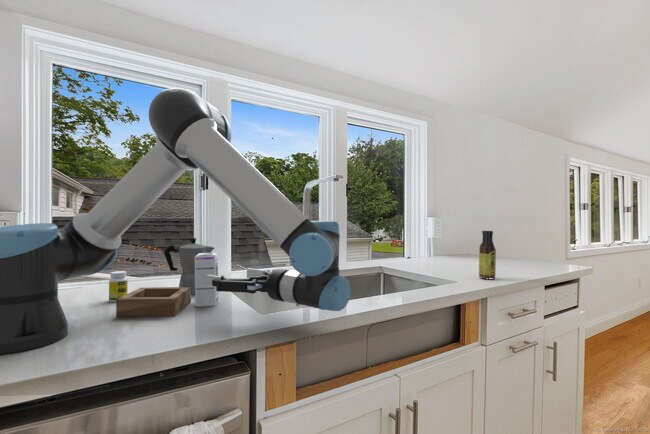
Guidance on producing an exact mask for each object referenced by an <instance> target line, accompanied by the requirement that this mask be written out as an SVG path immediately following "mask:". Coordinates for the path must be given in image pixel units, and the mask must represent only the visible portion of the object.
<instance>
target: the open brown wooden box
mask: <svg viewBox="0 0 650 434" xmlns="http://www.w3.org/2000/svg"><path fill="white" fill-rule="evenodd" d="M191 300H192V295H191V287H179V286H178V287H176V286H175V287H173V286H170V287H169V286H166V287H164V286H163V287H157V286H156V287H154V286H153V287H139V288H137V289H135V290H133V291H131V292H128V293H127V295H124V296H122V297H120V298H118V299H116V302H115V305H116V307H115V308H116V309H115V317H116V318H120V319H121V318H163V317H167V318H168V317H171V318H172V317H176V316H177V315H178V314H179V313H180V312H182V311H184V309H185V308H186V307H187V306H189V305H190V304H191V302H192V301H191Z"/></svg>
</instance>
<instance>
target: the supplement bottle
mask: <svg viewBox="0 0 650 434" xmlns="http://www.w3.org/2000/svg"><path fill="white" fill-rule="evenodd" d="M128 281H129V280H128V278H127V271H126V270H117V271H116V270H115V271H112V272H111V271H110V278H109V280H108V302H110V303H116V299H118V298H120V297H122V296H124V295H127V294H128Z"/></svg>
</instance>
